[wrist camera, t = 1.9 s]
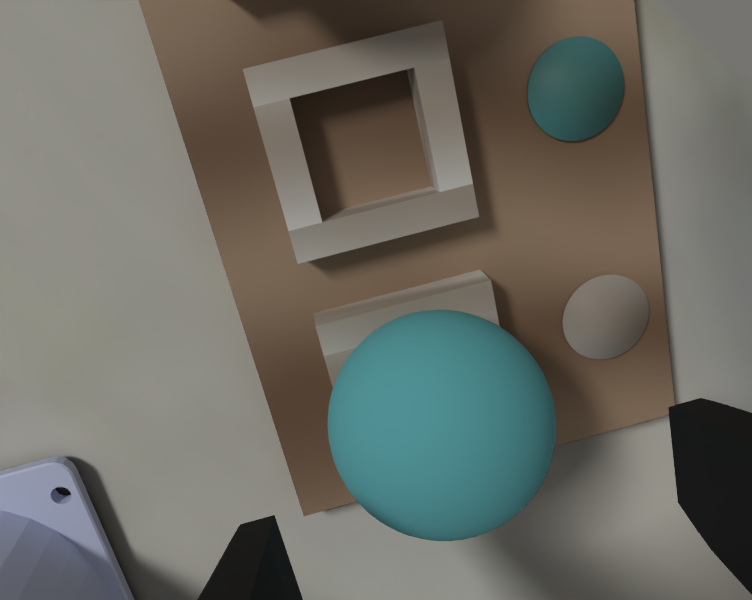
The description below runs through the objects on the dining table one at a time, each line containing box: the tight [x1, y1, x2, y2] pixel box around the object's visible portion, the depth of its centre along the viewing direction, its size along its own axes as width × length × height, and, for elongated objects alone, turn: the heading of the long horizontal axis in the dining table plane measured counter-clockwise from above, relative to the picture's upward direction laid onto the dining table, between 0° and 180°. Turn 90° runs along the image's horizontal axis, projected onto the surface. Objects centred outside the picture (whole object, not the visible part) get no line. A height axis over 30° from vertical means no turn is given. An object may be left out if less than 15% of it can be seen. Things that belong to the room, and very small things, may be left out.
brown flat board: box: [139, 0, 675, 516], centre depth 16 cm, size 19×11×2 cm, turn 13°
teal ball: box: [328, 310, 556, 541], centre depth 15 cm, size 5×5×5 cm
